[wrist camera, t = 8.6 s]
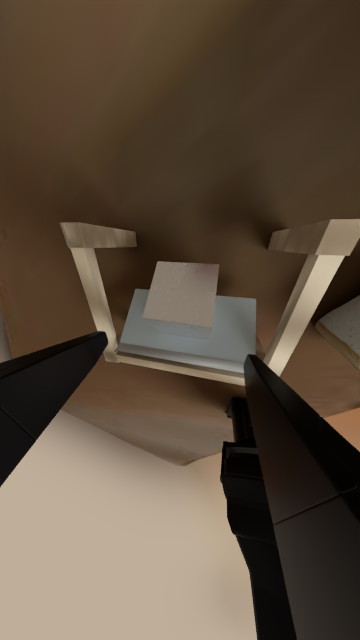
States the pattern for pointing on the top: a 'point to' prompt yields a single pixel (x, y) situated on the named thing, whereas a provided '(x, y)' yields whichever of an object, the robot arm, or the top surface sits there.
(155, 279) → the steel cube
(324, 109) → the top surface
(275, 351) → the birch frame
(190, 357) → the flap
